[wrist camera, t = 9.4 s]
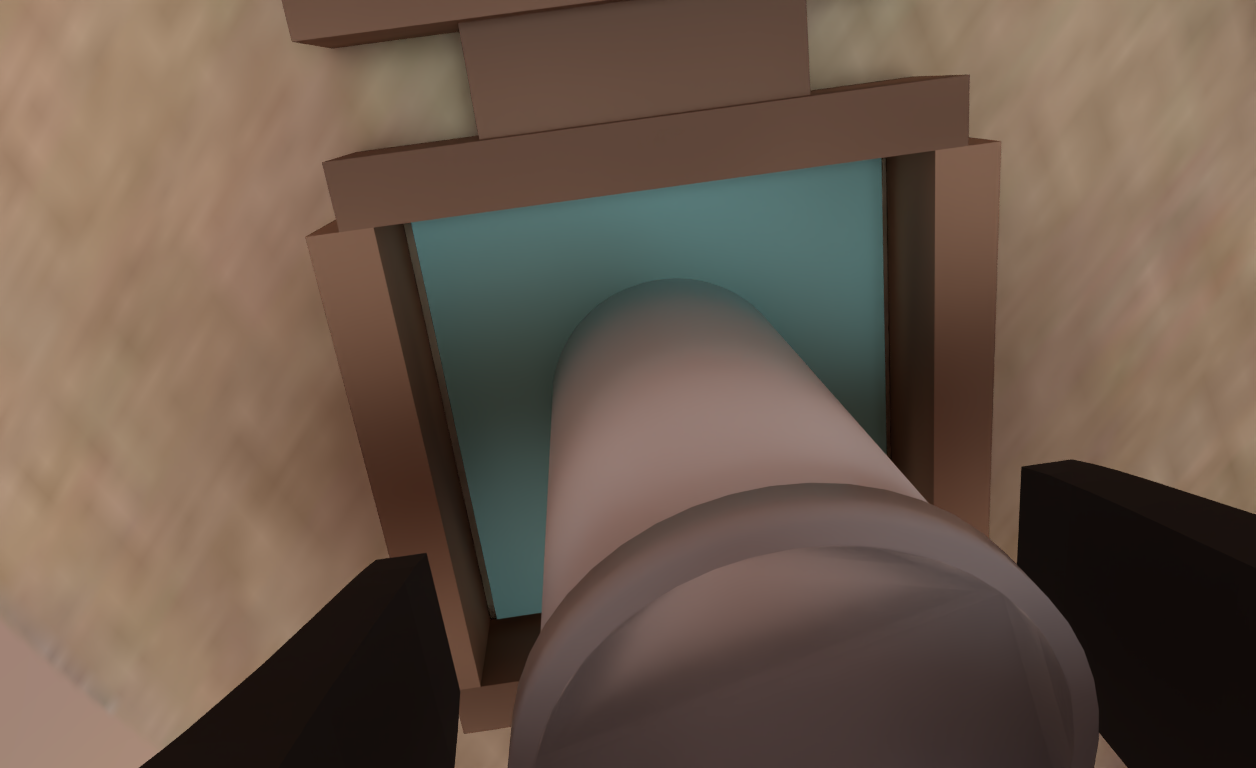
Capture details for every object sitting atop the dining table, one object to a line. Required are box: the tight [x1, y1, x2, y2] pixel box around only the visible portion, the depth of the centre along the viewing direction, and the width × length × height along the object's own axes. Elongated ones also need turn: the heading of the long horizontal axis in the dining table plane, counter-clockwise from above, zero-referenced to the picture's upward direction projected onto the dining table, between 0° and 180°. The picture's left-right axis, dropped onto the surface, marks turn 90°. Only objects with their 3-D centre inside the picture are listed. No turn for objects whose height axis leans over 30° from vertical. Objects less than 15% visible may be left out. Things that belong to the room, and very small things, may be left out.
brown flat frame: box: [282, 0, 1001, 734], centre depth 12 cm, size 22×10×2 cm, turn 7°
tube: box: [508, 278, 1099, 768], centre depth 11 cm, size 5×5×9 cm
